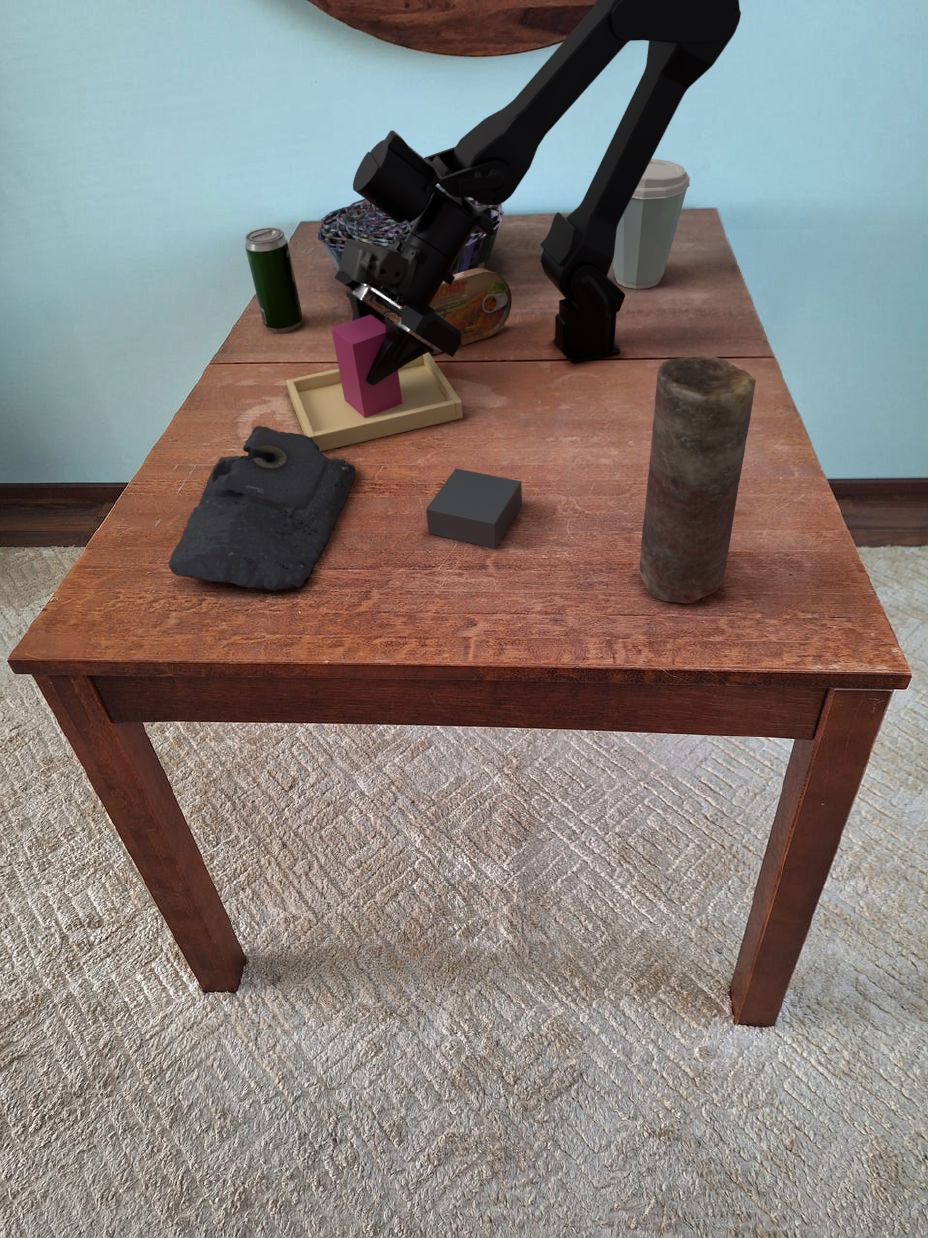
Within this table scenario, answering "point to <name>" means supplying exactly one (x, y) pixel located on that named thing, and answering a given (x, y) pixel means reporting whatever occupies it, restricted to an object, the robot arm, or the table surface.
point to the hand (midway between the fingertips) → (357, 374)
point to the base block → (474, 508)
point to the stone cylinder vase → (693, 475)
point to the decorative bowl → (397, 233)
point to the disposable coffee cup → (649, 225)
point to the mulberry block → (364, 366)
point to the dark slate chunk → (264, 513)
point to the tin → (473, 304)
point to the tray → (343, 425)
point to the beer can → (274, 279)
